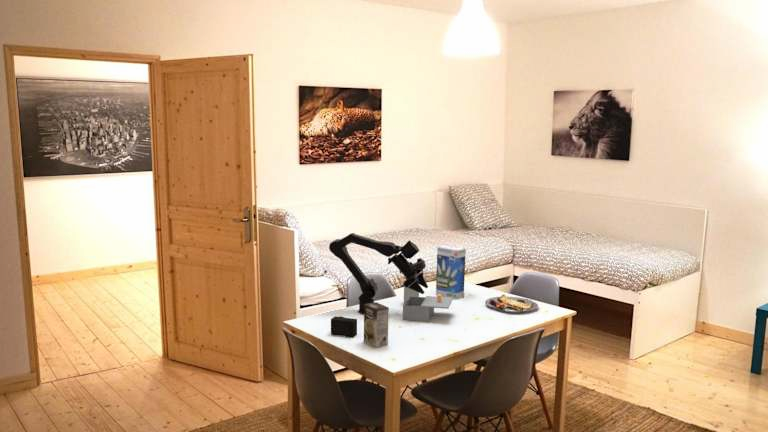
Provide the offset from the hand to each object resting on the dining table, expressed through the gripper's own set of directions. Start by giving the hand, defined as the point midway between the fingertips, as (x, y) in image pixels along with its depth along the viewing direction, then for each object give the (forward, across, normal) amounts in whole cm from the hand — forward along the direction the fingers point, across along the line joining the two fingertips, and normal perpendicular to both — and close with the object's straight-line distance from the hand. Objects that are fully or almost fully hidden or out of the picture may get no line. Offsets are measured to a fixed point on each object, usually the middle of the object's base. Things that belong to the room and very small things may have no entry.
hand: (425, 290), depth 299 cm
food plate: (+36, +26, -18) cm, 48 cm away
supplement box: (+3, +16, +16) cm, 23 cm away
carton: (+7, -1, +11) cm, 13 cm away
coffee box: (-1, -42, +17) cm, 45 cm away
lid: (+8, -1, 0) cm, 8 cm away
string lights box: (+14, +38, +5) cm, 41 cm away
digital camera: (-11, -34, +29) cm, 46 cm away
